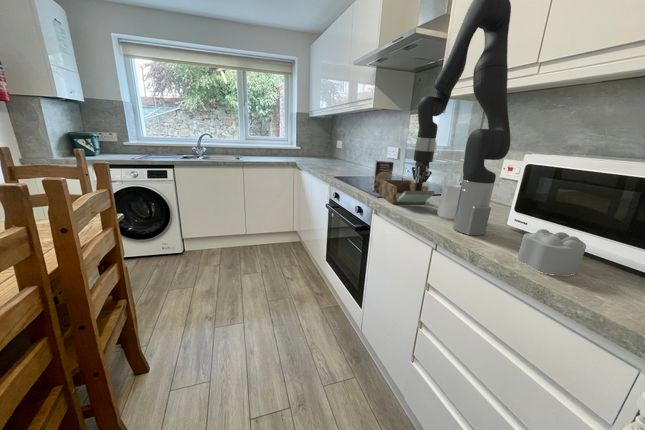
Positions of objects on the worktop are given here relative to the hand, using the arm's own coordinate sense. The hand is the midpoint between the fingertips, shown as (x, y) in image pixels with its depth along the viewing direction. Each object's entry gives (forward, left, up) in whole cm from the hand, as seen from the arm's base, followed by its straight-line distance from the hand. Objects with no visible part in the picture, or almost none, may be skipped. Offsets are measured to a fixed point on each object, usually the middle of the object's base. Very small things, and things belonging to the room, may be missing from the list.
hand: (417, 191), depth 117 cm
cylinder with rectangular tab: (-11, -9, -8) cm, 16 cm away
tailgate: (+5, 0, -6) cm, 8 cm away
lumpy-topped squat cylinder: (-53, -10, -8) cm, 55 cm away
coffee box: (+34, +3, -8) cm, 35 cm away
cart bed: (+15, 0, -8) cm, 17 cm away
